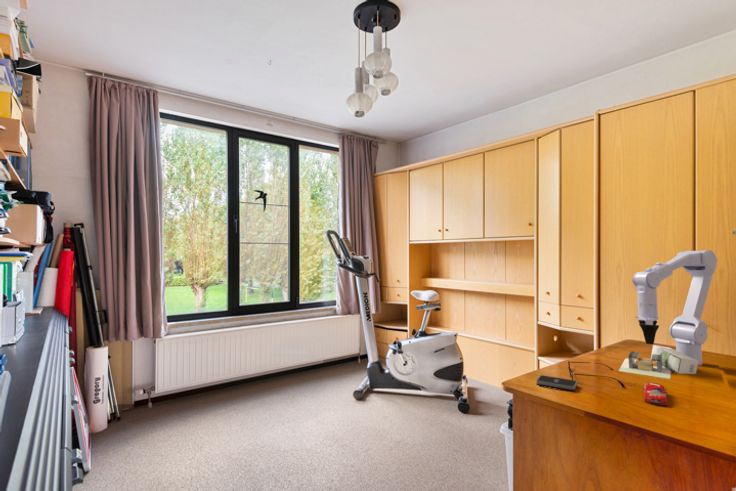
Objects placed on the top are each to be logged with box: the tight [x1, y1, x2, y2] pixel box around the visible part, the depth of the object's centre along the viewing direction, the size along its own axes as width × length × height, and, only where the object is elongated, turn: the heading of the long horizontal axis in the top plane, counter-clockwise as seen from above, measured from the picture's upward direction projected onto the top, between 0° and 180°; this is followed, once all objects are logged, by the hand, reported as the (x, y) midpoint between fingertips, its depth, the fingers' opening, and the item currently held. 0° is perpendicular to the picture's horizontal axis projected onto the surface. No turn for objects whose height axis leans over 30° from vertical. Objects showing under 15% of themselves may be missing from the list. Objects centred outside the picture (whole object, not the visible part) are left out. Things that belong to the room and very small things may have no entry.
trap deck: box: [618, 358, 672, 380], centre depth 132 cm, size 20×14×2 cm
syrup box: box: [650, 344, 699, 375], centre depth 131 cm, size 6×6×14 cm
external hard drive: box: [536, 374, 578, 393], centre depth 119 cm, size 7×11×2 cm, turn 53°
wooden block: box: [637, 357, 654, 371], centre depth 131 cm, size 5×4×3 cm
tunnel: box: [628, 351, 662, 373], centre depth 132 cm, size 8×9×4 cm
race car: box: [643, 382, 668, 406], centre depth 107 cm, size 13×5×4 cm, turn 142°
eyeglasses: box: [567, 360, 626, 388], centre depth 126 cm, size 16×16×4 cm
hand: (649, 341), depth 134 cm, fingers open, 7 cm apart
